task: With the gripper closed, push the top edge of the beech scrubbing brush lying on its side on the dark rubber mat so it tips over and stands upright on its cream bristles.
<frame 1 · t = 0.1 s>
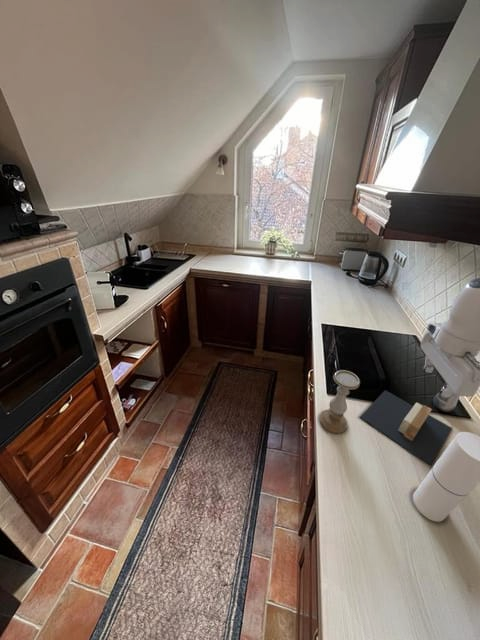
hand: (434, 382, 70), 24 cm above the worktop, tool pointing down, fingers open, 8 cm apart
cylindrical container: (428, 505, 66), on the worktop
plastic bottle: (441, 407, 93), on the worktop
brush: (411, 426, 86), resting on mat
mat: (404, 423, 87), on the worktop
candle holder: (332, 422, 87), on the worktop
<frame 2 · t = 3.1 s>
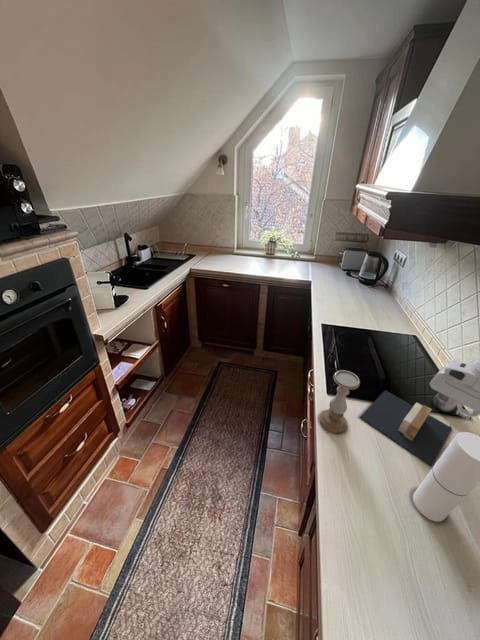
hand: (462, 415, 73), 14 cm above the worktop, tool pointing down, fingers closed
nothing on the worktop moved.
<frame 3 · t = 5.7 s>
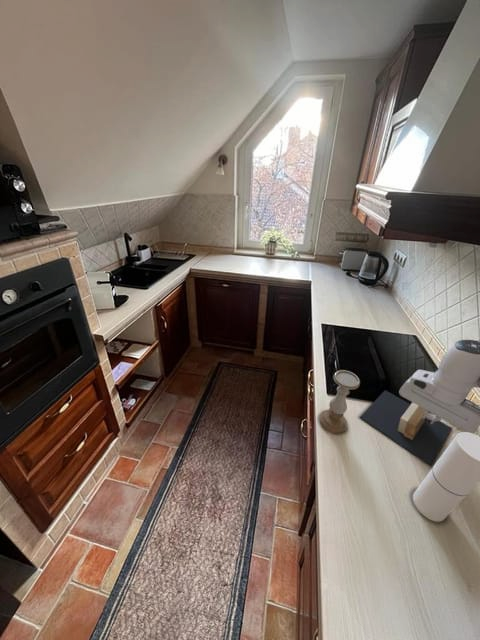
hand: (427, 420, 81), 6 cm above the worktop, tool pointing down, fingers closed
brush: (411, 425, 85), point 1 cm above the worktop, tilted 9°, touching gripper, mat
everything else where it was.
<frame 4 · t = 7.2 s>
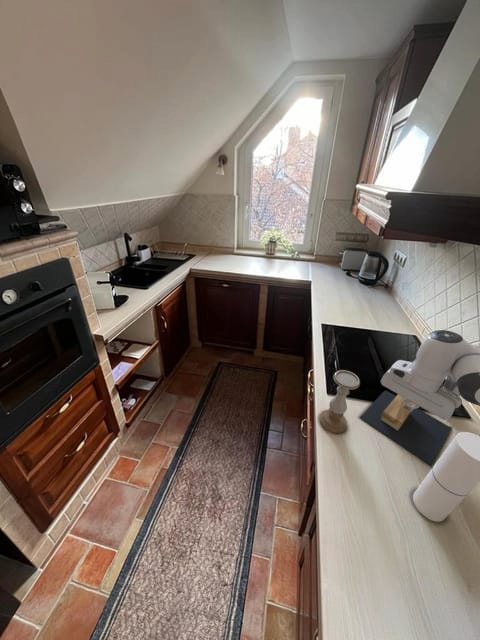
hand: (407, 408, 85), 6 cm above the worktop, tool pointing down, fingers closed
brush: (407, 417, 86), point 3 cm above the worktop, tilted 90°, touching mat
everything else where it was.
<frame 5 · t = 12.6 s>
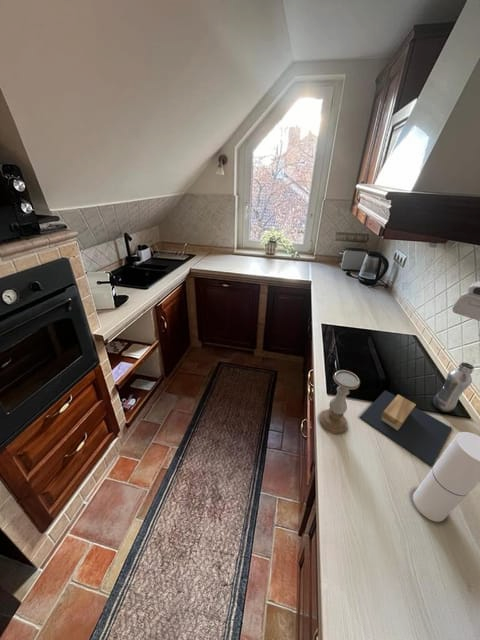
nothing on the worktop moved.
at the end: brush tilted 90°; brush inside the target area (1.9 cm from its centre), point 2.6 cm above the worktop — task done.
